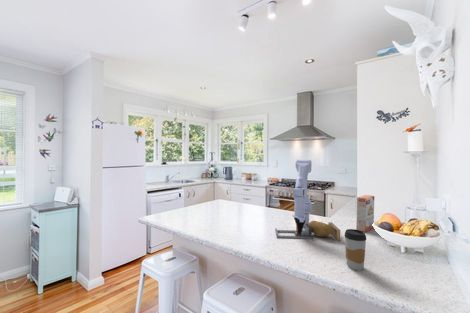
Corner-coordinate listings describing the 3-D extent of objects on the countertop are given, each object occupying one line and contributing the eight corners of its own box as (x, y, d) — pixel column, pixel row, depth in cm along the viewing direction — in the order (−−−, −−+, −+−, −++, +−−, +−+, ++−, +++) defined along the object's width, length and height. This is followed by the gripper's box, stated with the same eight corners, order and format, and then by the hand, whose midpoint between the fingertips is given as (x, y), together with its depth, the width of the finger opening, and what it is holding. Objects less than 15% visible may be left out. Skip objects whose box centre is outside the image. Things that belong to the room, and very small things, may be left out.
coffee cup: (358, 262, 101) (359, 228, 100) (370, 271, 92) (371, 235, 92) (340, 262, 100) (340, 228, 100) (350, 272, 92) (350, 235, 92)
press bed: (275, 230, 142) (275, 221, 142) (331, 232, 139) (331, 222, 139) (277, 238, 128) (277, 228, 128) (340, 240, 125) (340, 230, 125)
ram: (293, 231, 138) (293, 221, 138) (308, 232, 137) (308, 221, 137) (296, 237, 129) (296, 225, 129) (311, 237, 129) (311, 226, 128)
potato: (328, 241, 124) (328, 227, 124) (305, 234, 134) (305, 221, 134) (336, 237, 130) (336, 223, 130) (314, 230, 141) (314, 218, 141)
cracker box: (366, 232, 138) (366, 198, 137) (356, 230, 142) (356, 197, 142) (374, 227, 147) (374, 195, 146) (364, 225, 151) (364, 194, 151)
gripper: (290, 205, 141) (290, 226, 141) (294, 210, 126) (294, 235, 127) (302, 205, 140) (302, 226, 140) (307, 211, 126) (307, 235, 126)
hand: (299, 230), depth 134 cm, fingers closed on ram, 3 cm apart
